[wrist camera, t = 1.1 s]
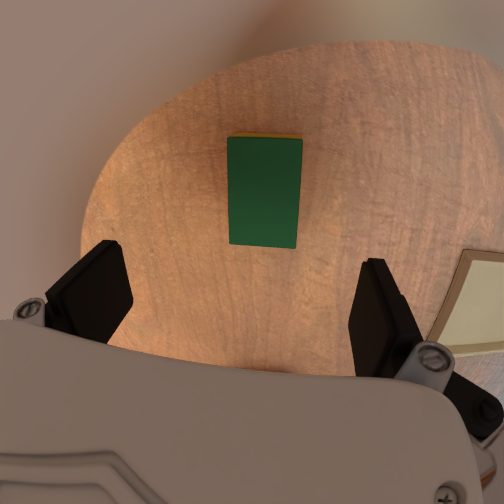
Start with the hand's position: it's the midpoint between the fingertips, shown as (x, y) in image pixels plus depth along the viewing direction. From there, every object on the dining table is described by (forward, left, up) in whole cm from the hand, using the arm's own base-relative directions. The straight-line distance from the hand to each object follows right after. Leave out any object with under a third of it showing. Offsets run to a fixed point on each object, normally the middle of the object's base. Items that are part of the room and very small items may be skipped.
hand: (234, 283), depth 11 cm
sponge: (0, 0, -14) cm, 14 cm away
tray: (+11, +28, -14) cm, 33 cm away
